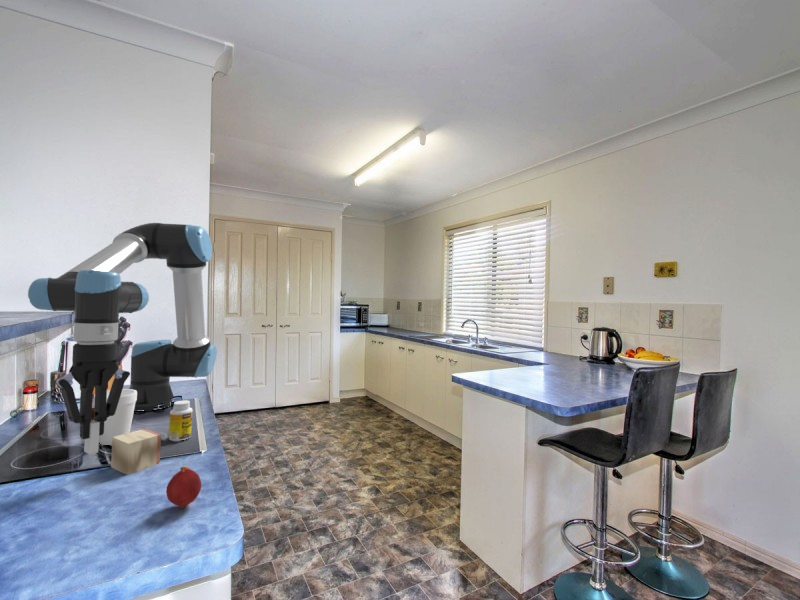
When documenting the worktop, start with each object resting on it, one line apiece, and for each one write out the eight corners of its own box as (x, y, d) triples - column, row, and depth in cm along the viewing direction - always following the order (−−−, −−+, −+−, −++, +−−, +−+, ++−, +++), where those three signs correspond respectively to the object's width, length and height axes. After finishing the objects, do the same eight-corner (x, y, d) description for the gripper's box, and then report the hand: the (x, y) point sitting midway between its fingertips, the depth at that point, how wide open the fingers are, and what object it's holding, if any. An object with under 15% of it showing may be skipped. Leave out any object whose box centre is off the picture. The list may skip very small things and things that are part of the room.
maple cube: (111, 467, 88) (143, 456, 95) (127, 475, 85) (159, 463, 91) (112, 437, 88) (144, 428, 95) (128, 443, 85) (160, 434, 91)
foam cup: (111, 449, 98) (113, 399, 98) (82, 445, 100) (84, 395, 100) (143, 437, 107) (145, 390, 107) (116, 433, 109) (118, 387, 109)
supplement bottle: (181, 443, 104) (183, 405, 104) (163, 441, 105) (165, 403, 105) (196, 436, 109) (197, 400, 109) (179, 434, 110) (180, 398, 110)
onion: (179, 497, 77) (181, 458, 77) (206, 500, 76) (208, 460, 76) (158, 513, 71) (160, 470, 71) (187, 517, 70) (189, 473, 70)
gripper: (65, 346, 75) (59, 467, 74) (138, 341, 86) (133, 446, 86) (49, 342, 78) (44, 458, 78) (121, 338, 90) (117, 439, 90)
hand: (91, 451), depth 82 cm, fingers closed
